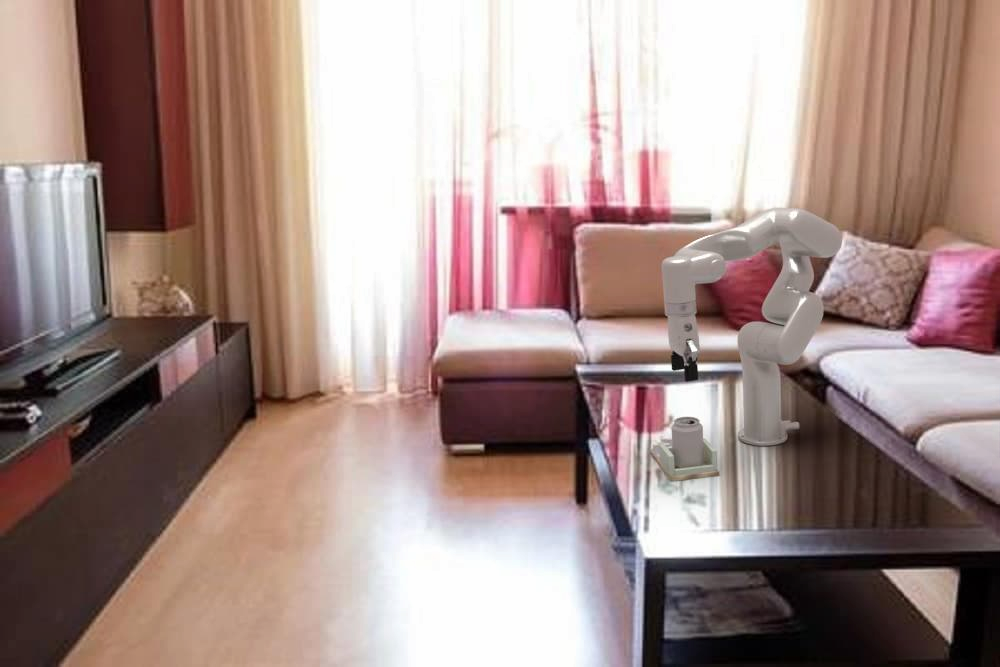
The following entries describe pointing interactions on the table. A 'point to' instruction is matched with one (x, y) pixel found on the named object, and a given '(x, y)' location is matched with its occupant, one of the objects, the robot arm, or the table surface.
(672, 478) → the board
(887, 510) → the table surface
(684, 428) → the can
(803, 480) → the table surface
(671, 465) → the bracket
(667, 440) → the clip
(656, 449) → the clip
